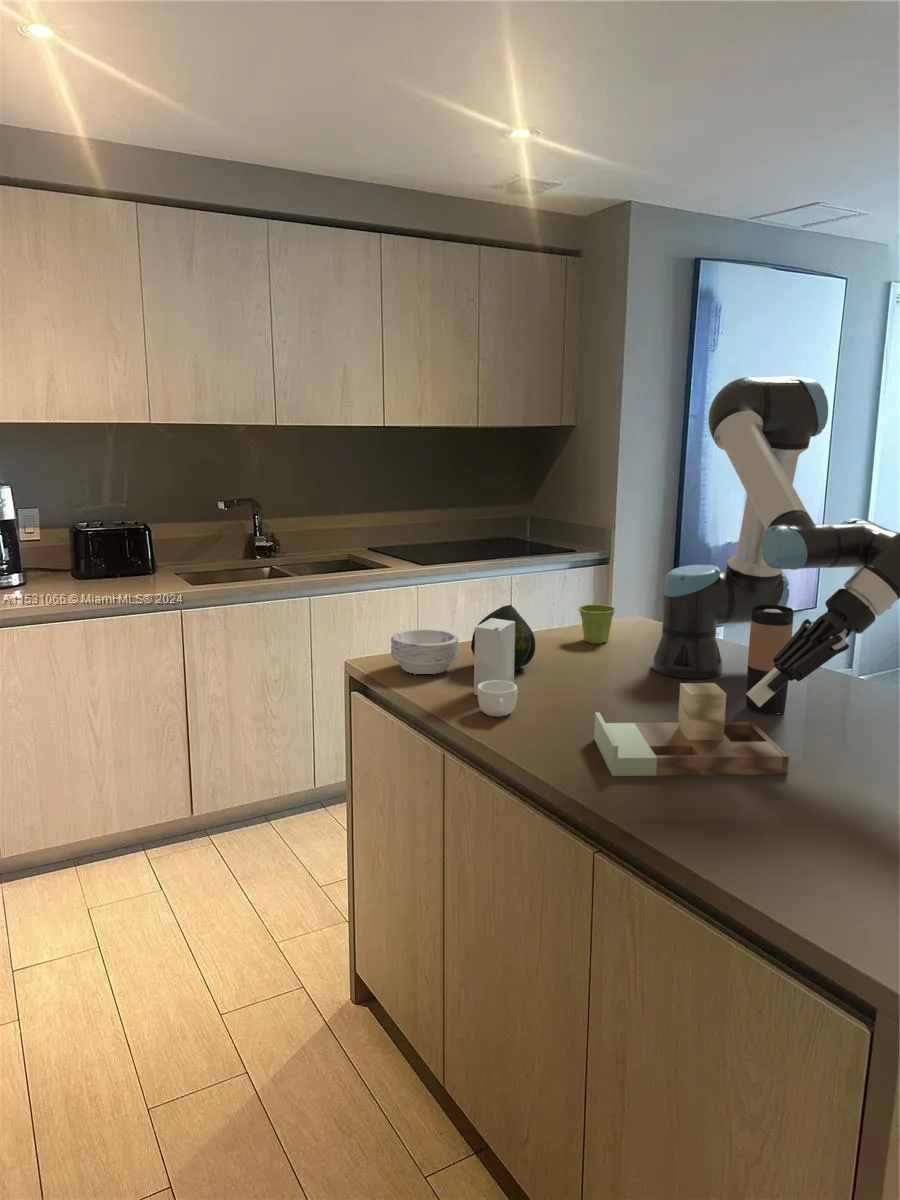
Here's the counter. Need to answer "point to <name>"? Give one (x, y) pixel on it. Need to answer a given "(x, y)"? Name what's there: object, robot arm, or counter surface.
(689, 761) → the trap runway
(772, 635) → the travel mug
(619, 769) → the pad
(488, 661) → the skincare box
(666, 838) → the counter surface
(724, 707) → the maple block
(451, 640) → the paper bowls
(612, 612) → the plant pot
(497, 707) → the teacup
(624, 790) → the counter surface
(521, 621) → the squash
